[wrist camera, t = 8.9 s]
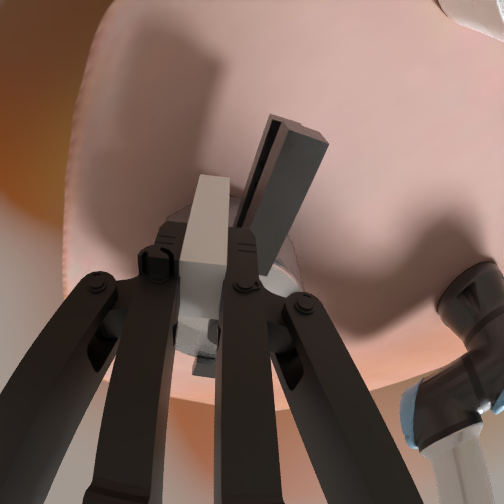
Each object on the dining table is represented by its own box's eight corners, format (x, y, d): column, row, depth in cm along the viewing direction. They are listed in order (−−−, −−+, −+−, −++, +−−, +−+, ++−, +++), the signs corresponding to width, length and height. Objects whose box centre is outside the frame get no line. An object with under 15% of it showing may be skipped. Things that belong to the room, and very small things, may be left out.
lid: (263, 370, 38) (265, 390, 35) (141, 352, 34) (138, 373, 32) (394, 163, 20) (412, 181, 18) (182, 92, 17) (174, 101, 14)
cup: (426, 35, 21) (501, 50, 12) (410, -47, 14) (480, -62, 6) (489, 45, 20) (559, 68, 11) (478, -28, 13) (547, -25, 5)
